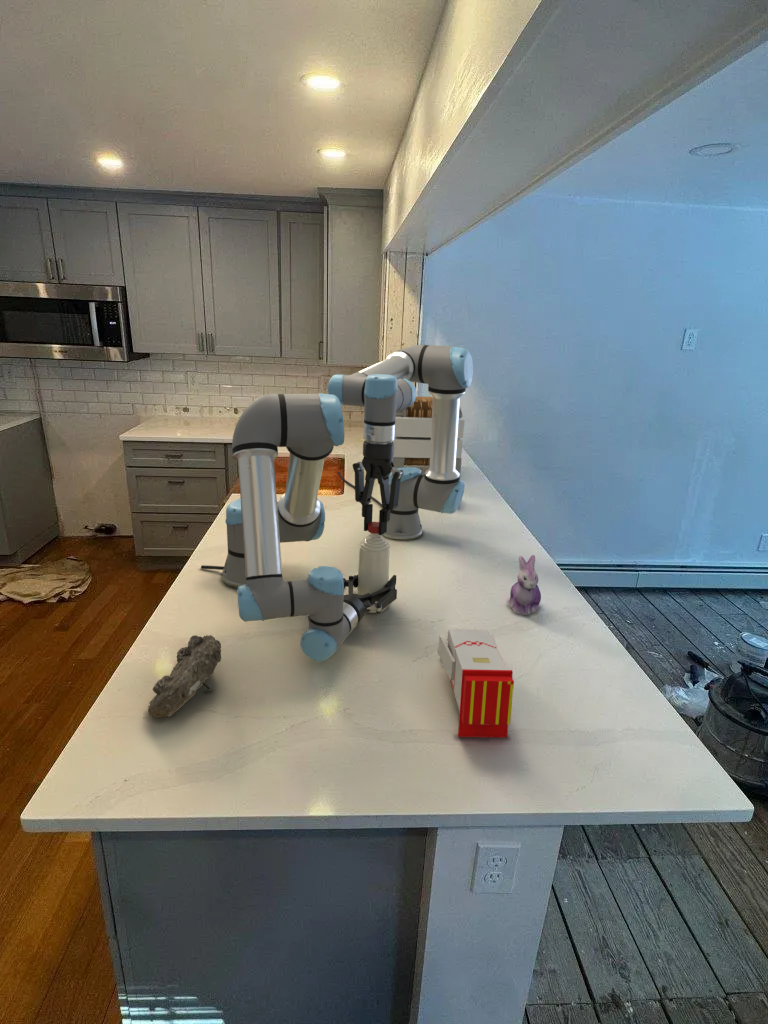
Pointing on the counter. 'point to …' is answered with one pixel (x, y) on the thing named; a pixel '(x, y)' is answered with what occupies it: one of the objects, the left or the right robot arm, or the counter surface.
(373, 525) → the cap
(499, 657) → the toy
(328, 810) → the counter surface
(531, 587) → the figurine
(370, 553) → the bottle
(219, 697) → the counter surface
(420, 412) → the white slatted crate
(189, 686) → the fossil
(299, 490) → the left robot arm
